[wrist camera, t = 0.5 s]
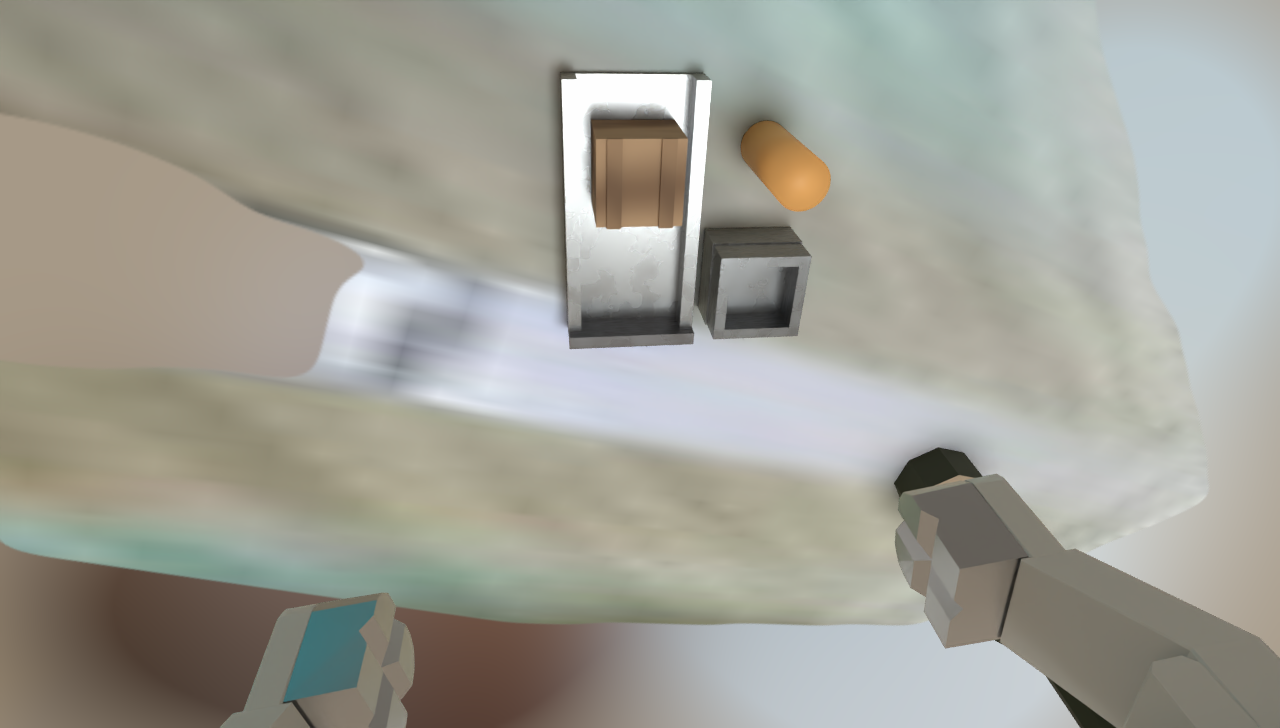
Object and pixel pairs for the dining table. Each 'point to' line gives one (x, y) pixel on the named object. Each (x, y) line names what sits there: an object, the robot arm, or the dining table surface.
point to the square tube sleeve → (753, 282)
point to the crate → (637, 173)
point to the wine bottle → (957, 467)
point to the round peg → (785, 166)
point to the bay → (631, 256)
